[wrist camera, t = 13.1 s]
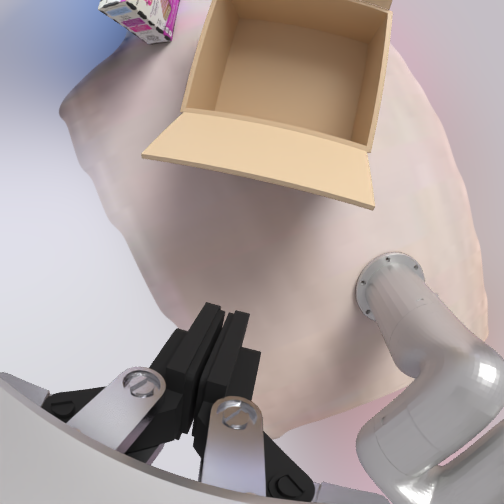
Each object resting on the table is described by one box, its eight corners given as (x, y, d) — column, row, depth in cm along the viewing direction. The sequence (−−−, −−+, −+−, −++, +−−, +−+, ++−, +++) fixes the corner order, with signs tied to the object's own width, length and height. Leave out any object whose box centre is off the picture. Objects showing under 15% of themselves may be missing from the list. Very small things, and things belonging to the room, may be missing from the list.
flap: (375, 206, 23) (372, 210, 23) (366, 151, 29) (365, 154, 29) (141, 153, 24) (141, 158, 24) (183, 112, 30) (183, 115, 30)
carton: (371, 43, 34) (392, 11, 22) (350, 155, 40) (370, 152, 29) (237, 16, 35) (219, -21, 24) (208, 124, 42) (180, 111, 30)
